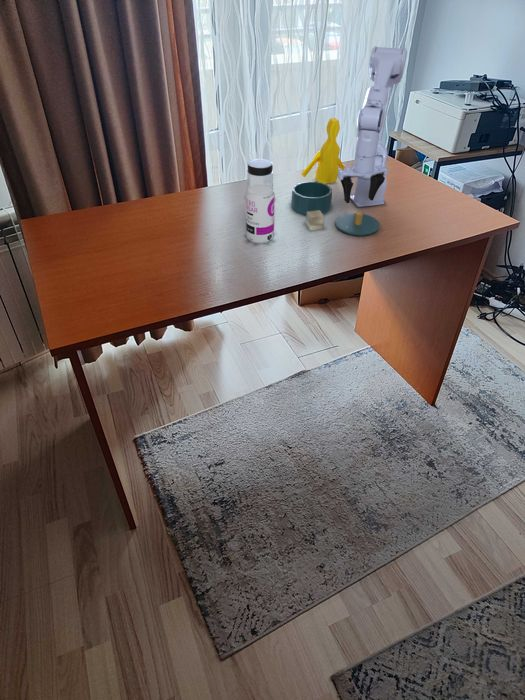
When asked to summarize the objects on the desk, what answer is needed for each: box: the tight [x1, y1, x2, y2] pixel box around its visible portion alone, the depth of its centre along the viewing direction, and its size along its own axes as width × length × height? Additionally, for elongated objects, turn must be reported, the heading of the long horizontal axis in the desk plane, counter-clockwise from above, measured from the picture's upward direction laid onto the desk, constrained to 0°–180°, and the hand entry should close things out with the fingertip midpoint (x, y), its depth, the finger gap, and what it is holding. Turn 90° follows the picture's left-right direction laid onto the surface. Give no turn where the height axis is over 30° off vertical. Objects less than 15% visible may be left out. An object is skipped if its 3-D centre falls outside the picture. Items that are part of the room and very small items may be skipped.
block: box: [305, 210, 325, 231], centre depth 146 cm, size 4×4×4 cm
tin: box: [291, 180, 333, 217], centre depth 155 cm, size 13×13×6 cm
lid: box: [335, 210, 381, 237], centre depth 145 cm, size 14×14×4 cm
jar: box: [246, 158, 274, 191], centre depth 157 cm, size 9×8×12 cm
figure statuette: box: [300, 117, 346, 185], centre depth 164 cm, size 18×8×22 cm, turn 113°
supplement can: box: [245, 184, 276, 245], centre depth 137 cm, size 8×8×15 cm
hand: (358, 200), depth 141 cm, fingers open, 7 cm apart
